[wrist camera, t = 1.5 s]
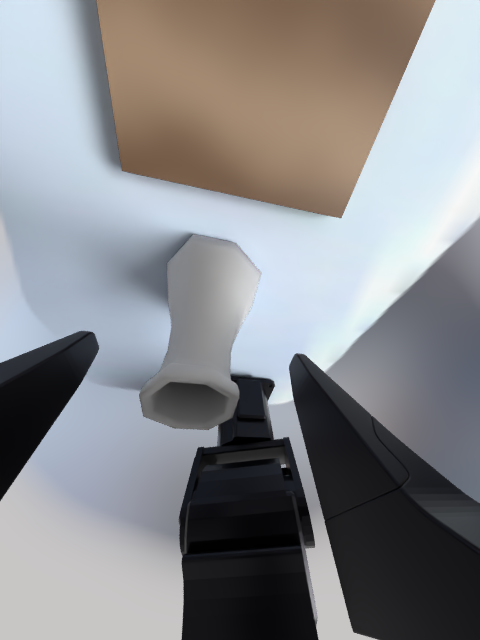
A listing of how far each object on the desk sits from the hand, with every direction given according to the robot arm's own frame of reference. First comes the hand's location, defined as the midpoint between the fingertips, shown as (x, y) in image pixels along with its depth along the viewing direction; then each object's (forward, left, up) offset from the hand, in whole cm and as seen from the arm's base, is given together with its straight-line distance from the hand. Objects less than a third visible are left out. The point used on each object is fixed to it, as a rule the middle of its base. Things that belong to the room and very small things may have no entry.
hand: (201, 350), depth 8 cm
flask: (0, 0, -7) cm, 7 cm away
